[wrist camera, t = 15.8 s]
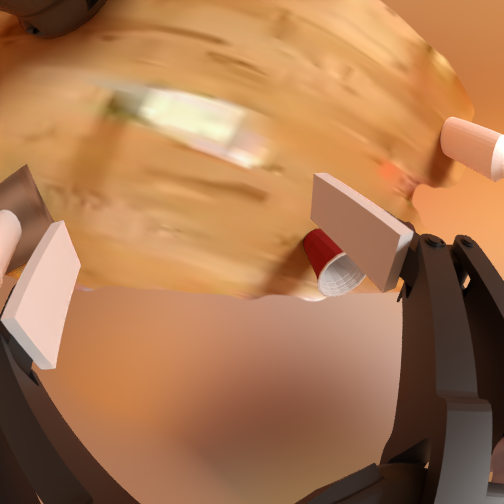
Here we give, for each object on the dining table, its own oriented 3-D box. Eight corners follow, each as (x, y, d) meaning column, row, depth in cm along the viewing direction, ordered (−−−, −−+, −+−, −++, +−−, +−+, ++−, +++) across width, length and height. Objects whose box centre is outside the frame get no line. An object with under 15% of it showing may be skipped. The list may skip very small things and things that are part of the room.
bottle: (461, 114, 47) (537, 146, 28) (460, 153, 55) (530, 192, 35) (439, 117, 46) (526, 153, 27) (439, 161, 54) (516, 205, 34)
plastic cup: (280, 250, 53) (307, 289, 44) (315, 208, 50) (351, 240, 41) (313, 270, 59) (341, 306, 50) (345, 233, 56) (379, 264, 47)
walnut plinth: (-21, 201, 27) (-32, 210, 24) (26, 164, 29) (15, 171, 26) (13, 261, 36) (5, 274, 32) (61, 235, 37) (54, 247, 34)
